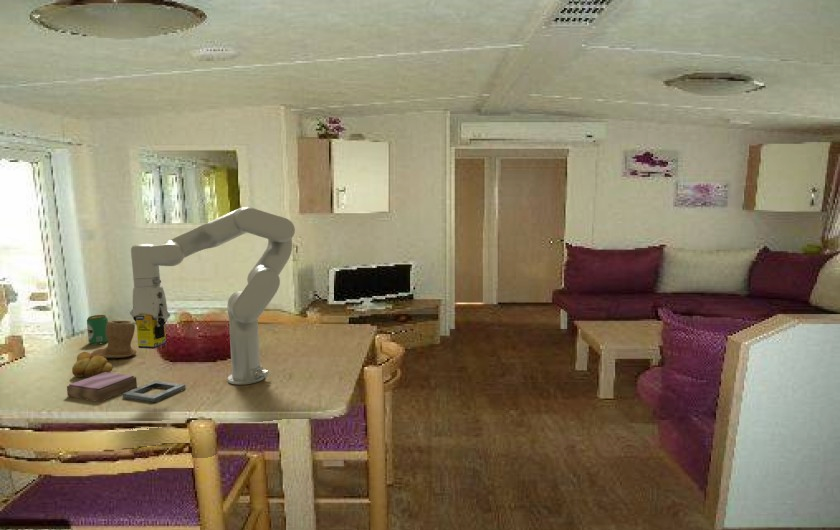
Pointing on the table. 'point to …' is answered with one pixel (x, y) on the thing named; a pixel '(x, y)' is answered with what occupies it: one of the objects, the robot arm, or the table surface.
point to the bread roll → (90, 365)
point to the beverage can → (97, 329)
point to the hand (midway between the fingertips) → (151, 336)
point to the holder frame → (171, 387)
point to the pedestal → (101, 386)
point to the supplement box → (148, 332)
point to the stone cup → (118, 340)
